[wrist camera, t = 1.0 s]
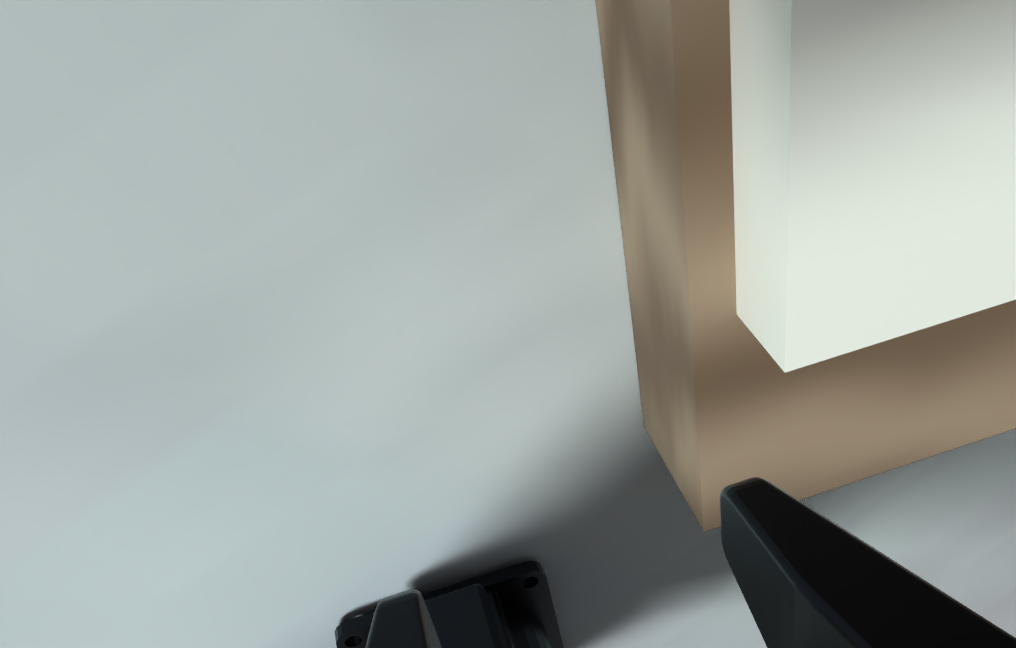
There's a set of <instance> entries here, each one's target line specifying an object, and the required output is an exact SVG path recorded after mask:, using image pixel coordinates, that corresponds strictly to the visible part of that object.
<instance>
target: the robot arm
mask: <svg viewBox="0 0 1016 648" xmlns="http://www.w3.org/2000/svg"><path fill="white" fill-rule="evenodd" d="M720 514H721V537H722V544H723V549H724V552H725V555H726V558H727V560H728V563H729V565H730V567H731V569H732V572H733V574H734V576H735V578H736V580H737V582H738V585H739V587H740V589H741V591H742V593H743V596H744V598H745V600H746V602H747V604H748V606H749V609H750V611H751V613H752V615H753V617H754V619H755V622H756V624H757V626H758V628H759V630H760V632H761V635H762V637H763V639H764V641H765V643H766V646H767V648H1016V638H1015V637H1013V636H1012V635H1010V634H1008V633H1007V632H1005V631H1004V630H1002V629H1000V628H999V627H997V626H996V625H994V624H993V623H991V622H989V621H988V620H986V619H985V618H983V617H982V616H980V615H978V614H977V613H975V612H974V611H972V610H971V609H969V608H967V607H966V606H964V605H963V604H961V603H960V602H958V601H956V600H955V599H953V598H952V597H950V596H949V595H947V594H945V593H944V592H942V591H941V590H939V589H938V588H936V587H934V586H933V585H931V584H930V583H928V582H926V581H925V580H923V579H922V578H920V577H919V576H917V575H915V574H914V573H912V572H911V571H909V570H908V569H906V568H904V567H903V566H901V565H900V564H898V563H897V562H895V561H893V560H892V559H890V558H889V557H887V556H886V555H884V554H882V553H881V552H879V551H878V550H876V549H875V548H873V547H871V546H870V545H868V544H867V543H865V542H863V541H862V540H860V539H859V538H857V537H856V536H854V535H852V534H851V533H849V532H848V531H846V530H845V529H843V528H841V527H840V526H838V525H837V524H835V523H834V522H832V521H830V520H829V519H827V518H826V517H824V516H823V515H821V514H819V513H818V512H816V511H815V510H813V509H812V508H810V507H808V506H807V505H805V504H804V503H802V502H801V501H799V500H797V499H796V498H794V497H793V496H791V495H789V494H788V493H786V492H785V491H783V490H782V489H780V488H778V487H777V486H775V485H774V484H772V483H771V482H769V481H767V480H766V479H763V478H759V477H753V478H749V479H746V480H743V481H740V482H737V483H734V484H731V485H728V486H726V487H724V488H723V489H722V491H721V493H720ZM335 637H336V645H337V648H563V645H562V641H561V637H560V633H559V628H558V624H557V620H556V616H555V612H554V608H553V603H552V599H551V595H550V591H549V587H548V583H547V578H546V575H545V573H544V570H543V567H542V565H541V564H540V563H538V562H536V561H528V562H523V563H520V564H517V565H514V566H511V567H508V568H505V569H502V570H499V571H496V572H493V573H490V574H487V575H484V576H481V577H478V578H475V579H472V580H469V581H466V582H463V583H460V584H457V585H454V586H451V587H448V588H444V589H441V590H438V591H435V592H432V593H429V594H426V595H423V596H422V594H421V593H420V592H419V591H418V590H415V589H414V590H409V591H406V592H402V593H399V594H396V595H393V596H390V597H387V598H384V599H382V600H381V601H380V602H379V603H378V605H377V607H376V609H375V612H372V613H369V614H366V615H363V616H360V617H357V618H354V619H351V620H348V621H345V622H343V623H341V624H340V625H339V626H338V627H337V628H336V630H335Z"/></svg>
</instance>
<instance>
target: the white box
mask: <svg viewBox="0 0 1016 648" xmlns="http://www.w3.org/2000/svg"><path fill="white" fill-rule="evenodd" d="M729 13H730V55H731V97H732V140H733V182H734V224H735V267H736V309H737V315H738V317H739V318H740V319H741V320H742V321H743V323H744V324H745V325H746V326H747V327H748V329H749V330H750V331H751V332H752V334H753V335H754V336H755V337H756V338H757V340H758V341H759V342H760V343H761V344H762V346H763V347H764V348H765V349H766V351H767V352H768V353H769V354H770V355H771V357H772V358H773V359H774V360H775V361H776V363H777V364H778V365H779V366H780V368H781V369H782V370H783V371H784V372H785V373H786V372H789V371H792V370H795V369H798V368H802V367H805V366H808V365H811V364H814V363H817V362H820V361H824V360H827V359H830V358H833V357H836V356H839V355H843V354H846V353H849V352H852V351H855V350H858V349H861V348H865V347H868V346H871V345H874V344H877V343H880V342H883V341H887V340H890V339H893V338H896V337H899V336H902V335H905V334H909V333H912V332H915V331H918V330H921V329H924V328H928V327H931V326H934V325H937V324H940V323H943V322H946V321H950V320H953V319H956V318H959V317H962V316H965V315H968V314H972V313H975V312H978V311H981V310H984V309H987V308H990V307H994V306H997V305H1000V304H1003V303H1006V302H1009V301H1013V300H1016V0H729Z"/></svg>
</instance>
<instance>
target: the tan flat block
mask: <svg viewBox="0 0 1016 648" xmlns="http://www.w3.org/2000/svg"><path fill="white" fill-rule="evenodd" d="M596 8H597V17H598V26H599V34H600V43H601V52H602V61H603V70H604V78H605V87H606V96H607V105H608V114H609V122H610V131H611V140H612V149H613V158H614V167H615V175H616V184H617V193H618V202H619V211H620V219H621V228H622V237H623V246H624V255H625V263H626V272H627V281H628V290H629V299H630V308H631V316H632V325H633V334H634V343H635V352H636V360H637V369H638V378H639V387H640V396H641V404H642V413H643V422H644V428H645V430H646V432H647V433H648V435H649V437H650V439H651V440H652V442H653V444H654V446H655V447H656V449H657V451H658V453H659V454H660V456H661V458H662V460H663V461H664V463H665V465H666V467H667V468H668V470H669V472H670V473H671V475H672V477H673V479H674V480H675V482H676V484H677V486H678V487H679V489H680V491H681V493H682V494H683V496H684V498H685V500H686V501H687V503H688V505H689V507H690V508H691V510H692V512H693V514H694V515H695V517H696V519H697V521H698V522H699V524H700V526H701V528H702V529H703V531H704V532H706V531H709V530H712V529H715V528H718V527H721V514H720V493H721V491H722V489H723V488H724V487H726V486H728V485H731V484H734V483H737V482H740V481H743V480H746V479H749V478H753V477H759V478H763V479H766V480H767V481H769V482H771V483H772V484H774V485H775V486H777V487H778V488H780V489H782V490H783V491H785V492H786V493H788V494H789V495H791V496H793V497H794V498H796V499H797V500H802V499H805V498H808V497H811V496H814V495H817V494H820V493H823V492H826V491H829V490H832V489H835V488H838V487H841V486H844V485H847V484H850V483H853V482H856V481H859V480H862V479H865V478H868V477H871V476H874V475H877V474H880V473H883V472H886V471H889V470H892V469H895V468H898V467H901V466H904V465H907V464H910V463H913V462H916V461H919V460H922V459H925V458H928V457H931V456H934V455H937V454H940V453H943V452H946V451H949V450H952V449H955V448H958V447H961V446H964V445H967V444H970V443H973V442H976V441H979V440H982V439H985V438H988V437H991V436H994V435H997V434H1000V433H1003V432H1006V431H1009V430H1012V429H1015V428H1016V300H1013V301H1009V302H1006V303H1003V304H1000V305H997V306H994V307H990V308H987V309H984V310H981V311H978V312H975V313H972V314H968V315H965V316H962V317H959V318H956V319H953V320H950V321H946V322H943V323H940V324H937V325H934V326H931V327H928V328H924V329H921V330H918V331H915V332H912V333H909V334H905V335H902V336H899V337H896V338H893V339H890V340H887V341H883V342H880V343H877V344H874V345H871V346H868V347H865V348H861V349H858V350H855V351H852V352H849V353H846V354H843V355H839V356H836V357H833V358H830V359H827V360H824V361H820V362H817V363H814V364H811V365H808V366H805V367H802V368H798V369H795V370H792V371H789V372H786V373H785V372H784V371H783V370H782V369H781V368H780V366H779V365H778V364H777V363H776V361H775V360H774V359H773V358H772V357H771V355H770V354H769V353H768V352H767V351H766V349H765V348H764V347H763V346H762V344H761V343H760V342H759V341H758V340H757V338H756V337H755V336H754V335H753V334H752V332H751V331H750V330H749V329H748V327H747V326H746V325H745V324H744V323H743V321H742V320H741V319H740V318H739V317H738V315H737V309H736V267H735V224H734V182H733V140H732V97H731V55H730V13H729V0H596Z"/></svg>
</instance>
